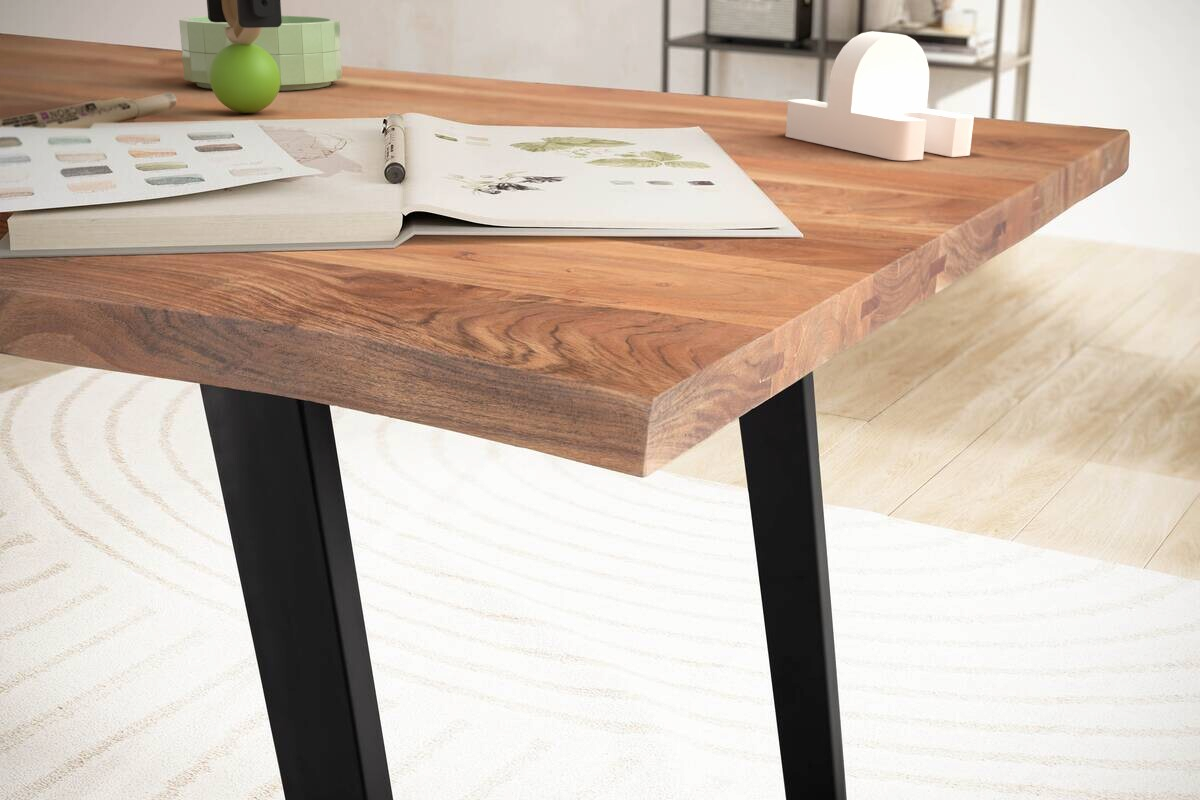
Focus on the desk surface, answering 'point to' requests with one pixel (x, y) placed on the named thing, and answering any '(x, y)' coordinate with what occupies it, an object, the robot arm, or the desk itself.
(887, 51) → the slotted bracket
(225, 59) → the snail figurine
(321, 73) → the green round bowl
